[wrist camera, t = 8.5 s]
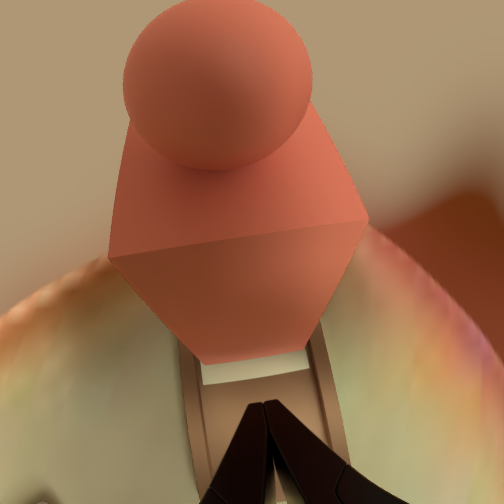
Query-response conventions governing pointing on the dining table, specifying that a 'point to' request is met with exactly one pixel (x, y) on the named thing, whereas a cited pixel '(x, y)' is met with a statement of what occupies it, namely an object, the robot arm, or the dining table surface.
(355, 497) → the robot arm
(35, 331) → the dining table surface
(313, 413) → the track
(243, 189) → the pawn
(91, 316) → the dining table surface
